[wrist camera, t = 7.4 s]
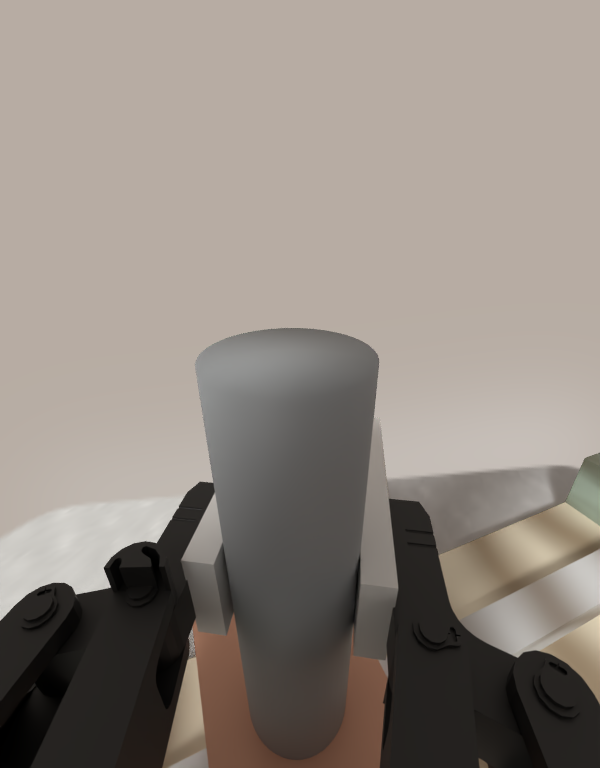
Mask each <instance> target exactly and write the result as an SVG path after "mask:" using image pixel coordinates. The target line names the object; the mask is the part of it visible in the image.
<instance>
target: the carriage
mask: <svg viewBox="0 0 600 768" xmlns="http://www.w3.org/2000/svg"><path fill="white" fill-rule="evenodd" d="M378 368H379V358H378V355H377V353H376V352H375V351H374V350H373V349H372V348H371V347H370V346H369V345H367V344H366V343H364V342H362V341H360V340H358V339H355V338H353V337H350V336H347V335H344V334H339V333H335V332H330V331H324V330H316V329H303V328H302V329H301V328H282V329H268V330H260V331H254V332H248V333H243V334H239V335H236V336H232V337H229V338H226V339H224V340H221V341H219V342H217V343H215V344H213V345H211V346H209V347H208V348H206V349H205V350H204V351H203V352H202V353H201V354H200V355H199V356H198V358H197V360H196V363H195V369H196V375H197V382H198V388H199V394H200V400H201V407H202V413H203V420H204V426H205V432H206V438H207V445H208V451H209V458H210V464H211V470H212V477H213V483H214V489H215V496H216V502H217V508H218V515H219V521H220V527H221V534H222V540H223V546H224V553H225V559H226V565H227V572H228V578H229V584H230V591H231V597H232V603H233V610H234V613H233V616H232V619H231V623H230V626H229V629H228V633H227V636H224V635H218V634H212V633H205V632H199V631H198V629H197V625H196V620H195V621H194V624H193V635H194V644H195V652H196V661H197V670H198V679H199V687H200V696H201V705H202V713H203V722H204V731H205V740H206V748H207V757H208V766H209V768H380V757H381V744H382V731H383V719H384V706H385V704H383V700H384V695H385V689H386V684H387V679H388V678H387V676H386V674H385V672H384V670H383V668H382V666H381V664H380V662H379V661H378V660H377V659H371V658H364V657H358V656H353V636H354V613H355V602H356V592H357V582H358V572H359V561H360V551H361V542H362V532H363V522H364V511H365V501H366V491H367V481H368V470H369V460H370V450H371V440H372V430H373V419H374V409H375V399H376V389H377V378H378Z"/></svg>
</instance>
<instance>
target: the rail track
mask: <svg viewBox="0 0 600 768" xmlns="http://www.w3.org/2000/svg"><path fill="white" fill-rule="evenodd" d="M439 559H440V564H441V568H442V572H443V577H444V581H445V585H446V589H447V594H448V598H449V602H450V604H451V607H452V610H453V612H454V613H455V615H456V617H457V618H458V620H459V621H460V622H461V623H462V624H463V626H464V627H465V628H466V629H467V630H468V631H470V632H471V633H472V634H473V635H474V636H476V637H477V638H479V639H481V640H482V641H484V642H486V643H488V644H490V645H492V646H494V647H496V648H498V649H500V650H502V651H505V652H507V653H509V654H511V655H513V656H515V657H517V658H518V657H519V656H520V655H521V654H522V653H523V652H528V651H534V650H537V651H541V652H545V653H549V654H552V655H553V656H555V657H557V658H558V659H560V660H562V661H564V662H565V663H567V664H568V665H569V666H570V667H571V668H572V669H574V670H575V671H576V672H577V673H578V674H579V675H580V676H581V677H582V678H583V679H584V681H585V682H586V683H587V685H588V686H589V688H590V689H591V690H592V692H593V693H594V695H595V696H596V698H597V700H598V702H599V704H600V453H598V454H595V455H592V456H589V457H587V458H585V459H584V462H583V464H582V466H581V468H580V470H579V473H578V475H577V477H576V479H575V482H574V484H573V486H572V488H571V491H570V493H569V495H568V497H567V500H566V502H565V503H562V504H560V505H557V506H555V507H553V508H550V509H548V510H546V511H543V512H541V513H538V514H536V515H534V516H531V517H529V518H526V519H524V520H522V521H519V522H517V523H514V524H512V525H510V526H507V527H505V528H502V529H500V530H498V531H495V532H493V533H490V534H488V535H486V536H483V537H481V538H478V539H476V540H474V541H471V542H469V543H466V544H464V545H462V546H459V547H457V548H455V549H452V550H450V551H447V552H445V553H443V554H440V555H439ZM378 661H379V662H380V664H381V666H382V668H383V670H384V672H385V674H386V676H387V678H388V663H387V654H386V660H385V661H384V660H378ZM479 766H480V768H488V765H487V763H486V762H485V761H483V760H481V759H480V758H479ZM162 768H209V766H208V757H207V748H206V740H205V731H204V722H203V713H202V705H201V696H200V687H199V679H198V670H197V661H196V657H193V658H191V659H189V660H187V665H186V669H185V673H184V677H183V682H182V686H181V690H180V695H179V699H178V703H177V707H176V712H175V716H174V720H173V724H172V729H171V733H170V737H169V742H168V746H167V750H166V754H165V759H164V763H163V767H162Z"/></svg>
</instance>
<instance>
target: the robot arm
mask: <svg viewBox="0 0 600 768" xmlns="http://www.w3.org/2000/svg"><path fill="white" fill-rule="evenodd" d="M104 570H105V573H106V575H107V578H108V580H109V583H110V585H111V588H108V589H103V590H98V591H93V592H87V593H82V594H77V595H76V594H75V592H74V590H73V588H72V587H71V586H69V585H67V584H66V583H52V584H48V585H45V586H42V587H40V588H38V589H36V590H34V591H33V592H31V593H29V594H28V595H26V596H25V597H24V598H23V599H22V600H21V601H19V602H18V603H17V604H16V605H15V606H14V607H13V608H12V609H11V610H10V611H9V612H8V614H7V615H6V616H5V617H4V618H3V619H2V620H1V621H0V768H162V767H163V763H164V759H165V754H166V750H167V746H168V742H169V737H170V733H171V729H172V724H173V720H174V716H175V712H176V707H177V703H178V699H179V695H180V690H181V686H182V682H183V677H184V673H185V669H186V665H187V660H188V656H189V645H190V643H189V639H188V637H189V634H190V631H191V629H192V626H193V624H194V621H195V620H196V625H197V629H198V631H199V632H205V633H212V634H218V635H224V636H227V633H228V629H229V626H230V623H231V619H232V616H233V613H234V610H233V603H232V597H231V591H230V584H229V578H228V572H227V565H226V559H225V553H224V546H223V540H222V534H221V527H220V521H219V515H218V508H217V502H216V496H215V489H214V483H208V482H199V483H198V484H197V485H196V486H195V487H193V488H192V489H191V490H190V491H188V492H187V494H186V495H185V497H184V499H183V500H182V502H181V504H180V505H179V509H177V510H176V512H175V514H174V515H173V518H172V520H170V522H169V524H168V525H167V527H166V529H165V530H164V532H163V534H162V535H161V537H160V539H159V540H158V542H157V544H156V543H153V542H146V541H145V542H139V543H134V544H132V545H130V546H127V547H125V548H123V549H121V550H120V551H119V552H118V553H116V554H115V555H114V556H113V557H111V559H110V560H109V561H108V563H107V564H106V565H105V567H104ZM386 654H387V663H388V679H387V684H386V689H385V695H384V700H383V704H385V706H384V719H383V731H382V744H381V757H380V768H480V766H479V758H480V759H481V760H483V761H485V762H486V763H487V765H488V768H600V704H599V702H598V700H597V698H596V696H595V695H594V693H593V692H592V690H591V689H590V688H589V686H588V685H587V683H586V682H585V681H584V679H583V678H582V677H581V676H580V675H579V674H578V673H577V672H576V671H575V670H574V669H572V668H571V667H570V666H569V665H568V664H567V663H565V662H564V661H562V660H560V659H558V658H557V657H555V656H553V655H552V654H549V653H545V652H541V651H537V650H534V651H528V652H523V653H522V654H521V655H520V656H519V657H518V658H517V657H515V656H513V655H511V654H509V653H507V652H505V651H502V650H500V649H498V648H496V647H494V646H492V645H490V644H488V643H486V642H484V641H482V640H481V639H479V638H477V637H476V636H474V635H473V634H472V633H471V632H470V631H468V630H467V629H466V628H465V627H464V626H463V624H462V623H461V622H460V621H459V620H458V618H457V617H456V615H455V613H454V612H453V610H452V607H451V604H450V602H449V598H448V594H447V589H446V585H445V581H444V577H443V572H442V568H441V564H440V559H439V555H438V551H437V549H436V542H435V538H434V535H433V530H432V525H431V521H430V517H429V515H428V514H427V512H426V511H425V510H424V508H423V507H422V505H421V504H420V503H419V502H415V501H405V500H395V499H389V497H388V488H387V479H386V470H385V462H384V451H383V442H382V434H381V424H380V418H374V419H373V430H372V440H371V450H370V460H369V470H368V481H367V491H366V501H365V511H364V522H363V532H362V542H361V551H360V561H359V572H358V582H357V592H356V602H355V613H354V636H353V656H358V657H364V658H371V659H377V660H384V661H385V660H386Z"/></svg>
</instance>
